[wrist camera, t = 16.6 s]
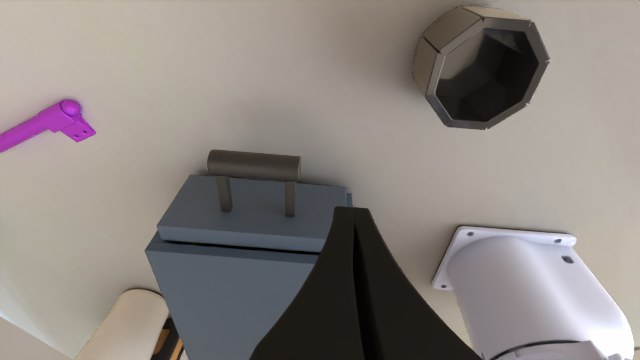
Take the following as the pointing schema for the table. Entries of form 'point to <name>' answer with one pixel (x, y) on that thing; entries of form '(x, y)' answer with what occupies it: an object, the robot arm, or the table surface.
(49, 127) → the purple bicycle pump
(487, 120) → the grey hollow octagonal cup
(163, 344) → the ammunition clip
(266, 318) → the cabinet
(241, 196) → the drawer
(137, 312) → the drinking glass
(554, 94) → the table surface
